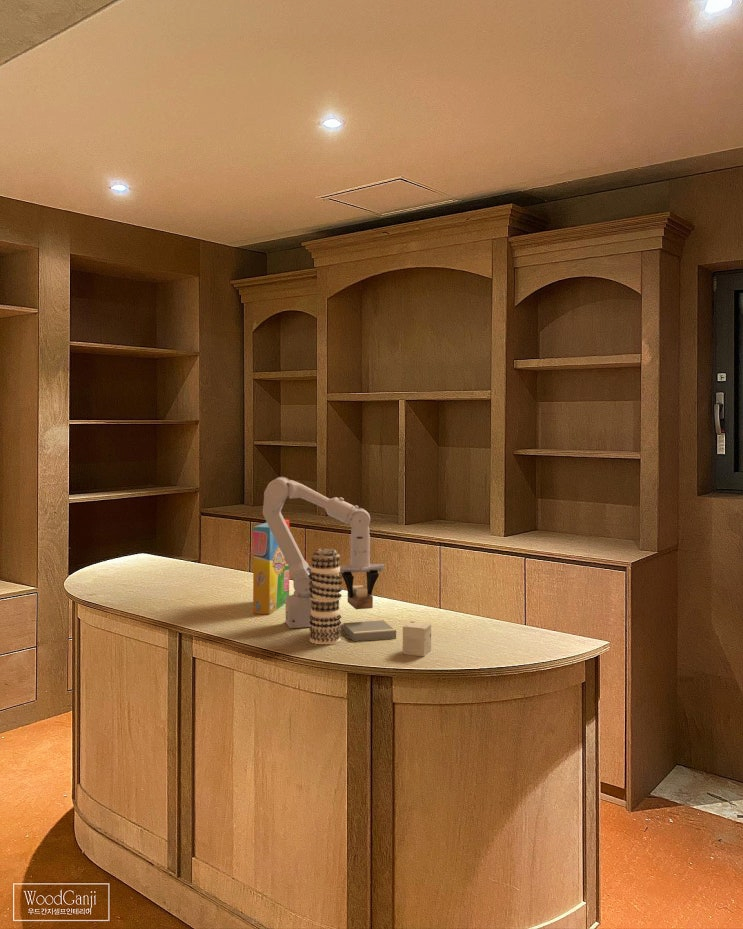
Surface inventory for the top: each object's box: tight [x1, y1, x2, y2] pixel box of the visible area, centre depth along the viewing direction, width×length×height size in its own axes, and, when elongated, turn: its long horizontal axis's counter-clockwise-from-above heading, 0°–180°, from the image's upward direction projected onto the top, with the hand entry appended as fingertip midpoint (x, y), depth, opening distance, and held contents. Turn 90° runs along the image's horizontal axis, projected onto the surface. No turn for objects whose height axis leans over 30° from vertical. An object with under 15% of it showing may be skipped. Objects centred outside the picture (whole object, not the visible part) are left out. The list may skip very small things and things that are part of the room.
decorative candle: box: [308, 548, 343, 646], centre depth 219 cm, size 9×9×25 cm
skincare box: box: [402, 620, 432, 657], centre depth 210 cm, size 6×6×7 cm
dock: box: [342, 619, 397, 642], centre depth 227 cm, size 12×12×2 cm
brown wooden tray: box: [347, 593, 374, 610], centre depth 236 cm, size 5×9×3 cm, turn 17°
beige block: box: [353, 585, 367, 597], centre depth 236 cm, size 3×5×3 cm, turn 18°
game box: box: [252, 518, 290, 615], centre depth 257 cm, size 21×6×27 cm, turn 168°
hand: (359, 596), depth 236 cm, fingers closed on brown wooden tray, 5 cm apart
